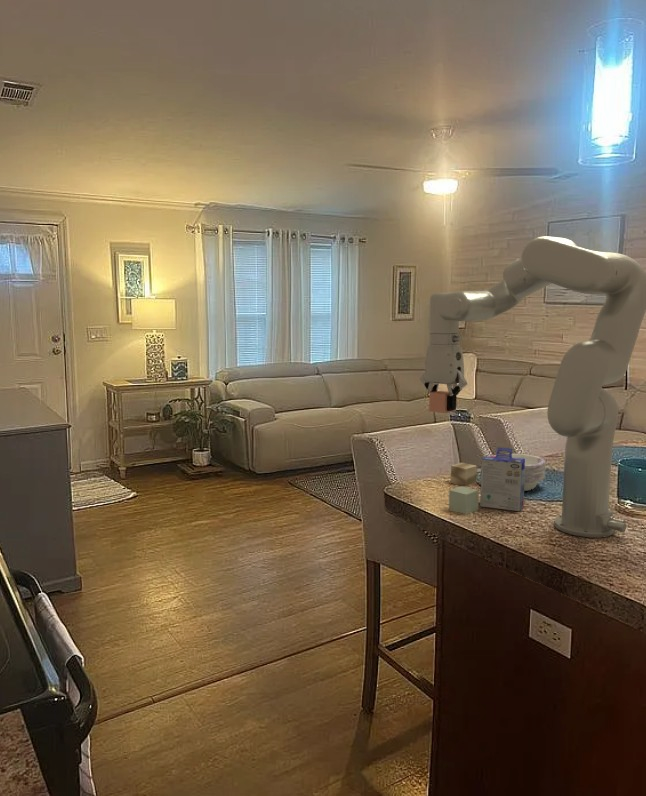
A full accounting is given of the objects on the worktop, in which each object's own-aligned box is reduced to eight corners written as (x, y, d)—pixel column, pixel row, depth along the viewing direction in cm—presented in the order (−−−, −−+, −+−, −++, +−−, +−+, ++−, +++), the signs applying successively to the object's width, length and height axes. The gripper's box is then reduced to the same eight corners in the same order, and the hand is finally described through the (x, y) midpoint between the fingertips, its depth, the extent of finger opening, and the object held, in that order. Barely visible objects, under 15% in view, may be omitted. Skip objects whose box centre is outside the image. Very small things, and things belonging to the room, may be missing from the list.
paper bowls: (492, 476, 183) (493, 450, 182) (547, 482, 176) (548, 455, 175) (481, 491, 169) (482, 462, 168) (540, 498, 163) (542, 468, 162)
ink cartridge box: (524, 505, 157) (526, 448, 155) (521, 512, 152) (523, 453, 150) (484, 500, 161) (485, 445, 159) (479, 507, 156) (481, 450, 154)
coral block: (456, 411, 167) (456, 392, 167) (444, 413, 164) (444, 394, 163) (441, 408, 171) (441, 390, 170) (429, 411, 168) (429, 392, 167)
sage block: (478, 510, 154) (478, 490, 154) (465, 514, 151) (466, 494, 150) (461, 505, 158) (461, 486, 157) (448, 509, 155) (449, 490, 154)
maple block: (476, 483, 177) (476, 465, 176) (465, 486, 174) (465, 469, 173) (461, 479, 181) (462, 462, 180) (450, 482, 178) (451, 465, 177)
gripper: (479, 340, 161) (478, 411, 164) (427, 338, 174) (426, 403, 176) (461, 342, 156) (460, 414, 159) (409, 339, 169) (408, 407, 171)
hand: (442, 408), depth 167 cm, fingers closed on coral block, 4 cm apart
